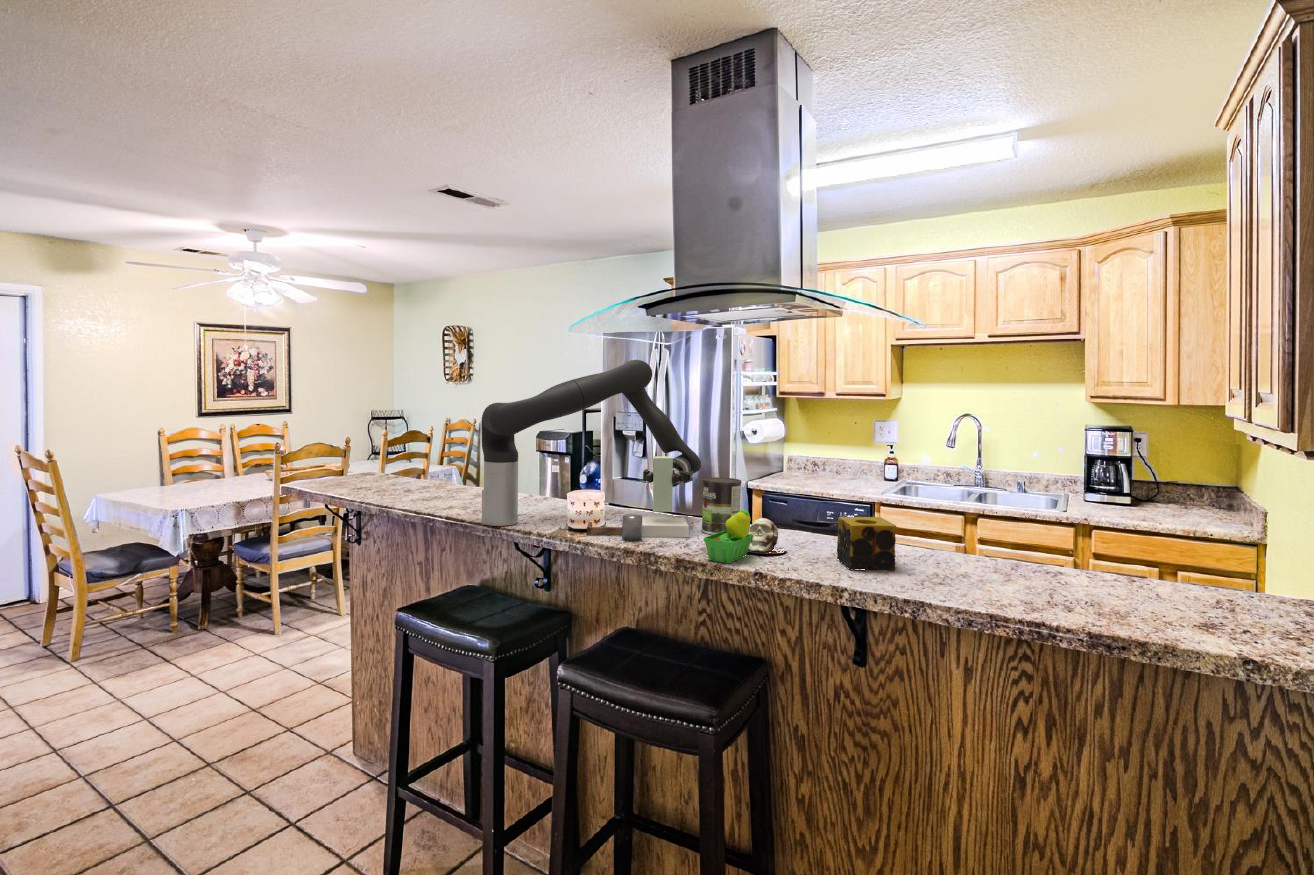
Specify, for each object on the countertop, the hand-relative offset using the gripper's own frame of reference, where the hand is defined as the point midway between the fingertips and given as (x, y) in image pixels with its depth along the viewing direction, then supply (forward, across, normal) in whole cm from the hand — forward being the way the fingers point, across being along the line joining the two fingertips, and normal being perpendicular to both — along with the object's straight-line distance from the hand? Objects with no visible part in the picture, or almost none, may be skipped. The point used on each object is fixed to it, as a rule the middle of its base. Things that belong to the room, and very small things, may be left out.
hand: (661, 479), depth 179 cm
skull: (+11, +27, +15) cm, 33 cm away
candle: (+19, +50, +15) cm, 55 cm away
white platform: (-2, 0, +14) cm, 15 cm away
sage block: (-3, 0, +8) cm, 9 cm away
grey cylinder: (+9, -6, +14) cm, 18 cm away
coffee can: (-8, +15, +15) cm, 23 cm away
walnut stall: (0, -14, +14) cm, 20 cm away
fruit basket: (+21, +21, +15) cm, 33 cm away
